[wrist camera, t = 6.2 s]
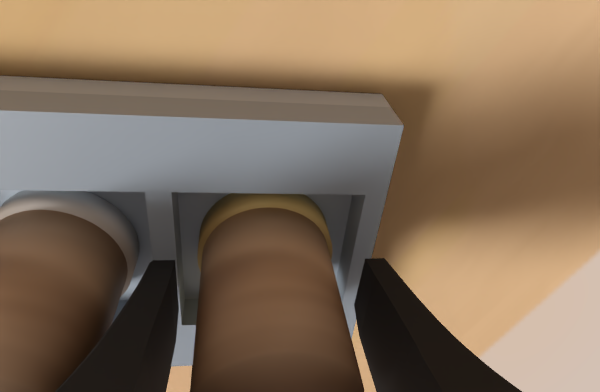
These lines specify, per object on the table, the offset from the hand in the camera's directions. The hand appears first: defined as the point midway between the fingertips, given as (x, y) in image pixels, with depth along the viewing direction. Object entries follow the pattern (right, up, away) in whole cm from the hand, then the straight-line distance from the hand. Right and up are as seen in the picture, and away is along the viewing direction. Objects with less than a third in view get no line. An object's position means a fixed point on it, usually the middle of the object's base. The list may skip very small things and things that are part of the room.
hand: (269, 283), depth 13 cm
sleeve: (0, +1, +2) cm, 2 cm away
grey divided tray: (-4, +2, +2) cm, 4 cm away
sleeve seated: (-6, +1, +1) cm, 7 cm away
